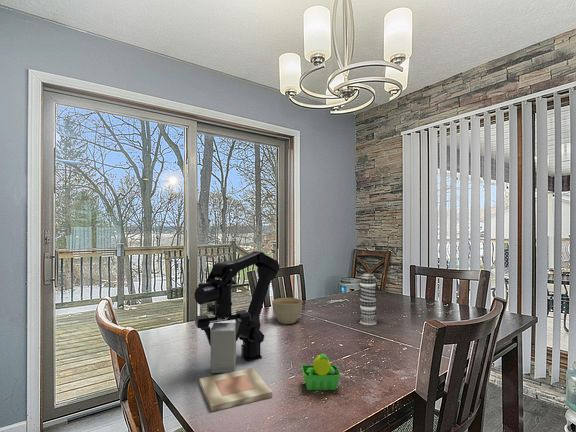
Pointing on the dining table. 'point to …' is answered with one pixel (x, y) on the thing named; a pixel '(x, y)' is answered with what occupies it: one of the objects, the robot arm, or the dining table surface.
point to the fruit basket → (321, 374)
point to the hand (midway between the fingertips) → (223, 343)
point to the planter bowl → (287, 309)
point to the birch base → (234, 389)
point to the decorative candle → (368, 299)
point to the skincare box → (223, 347)
